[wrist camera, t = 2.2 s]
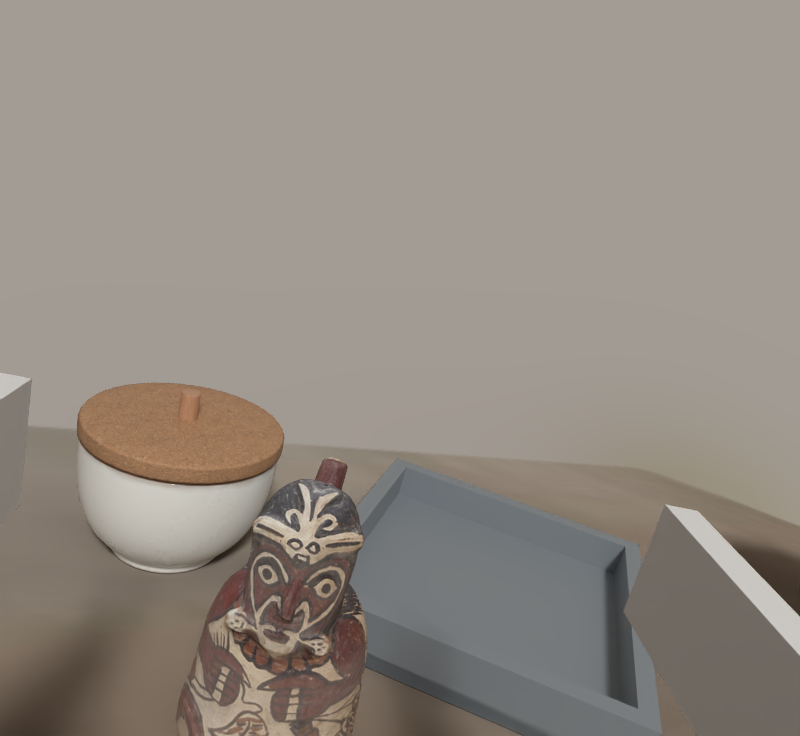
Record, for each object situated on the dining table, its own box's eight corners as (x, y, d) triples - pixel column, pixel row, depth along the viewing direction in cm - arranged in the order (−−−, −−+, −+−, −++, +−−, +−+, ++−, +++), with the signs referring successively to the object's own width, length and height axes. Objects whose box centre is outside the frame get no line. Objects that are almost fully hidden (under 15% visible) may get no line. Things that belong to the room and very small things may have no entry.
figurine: (135, 765, 25) (184, 486, 22) (227, 649, 32) (276, 421, 28) (308, 846, 24) (388, 564, 21) (366, 707, 31) (434, 477, 27)
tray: (282, 631, 34) (294, 581, 33) (387, 493, 51) (397, 458, 50) (638, 785, 30) (662, 734, 29) (624, 581, 47) (639, 544, 46)
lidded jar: (292, 577, 38) (327, 429, 36) (94, 623, 31) (119, 444, 29) (215, 484, 46) (239, 357, 43) (42, 505, 39) (58, 354, 36)
